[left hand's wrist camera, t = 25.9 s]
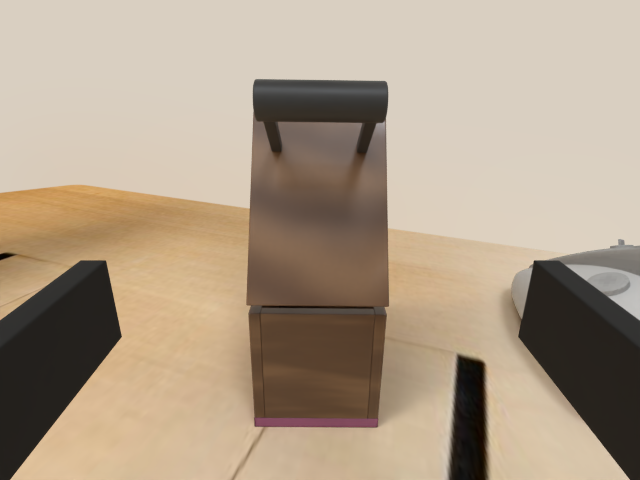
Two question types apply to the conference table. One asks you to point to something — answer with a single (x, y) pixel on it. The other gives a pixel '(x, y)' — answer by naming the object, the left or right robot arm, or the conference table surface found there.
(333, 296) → the lid
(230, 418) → the conference table surface
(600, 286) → the projector
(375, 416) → the chest
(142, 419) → the conference table surface
